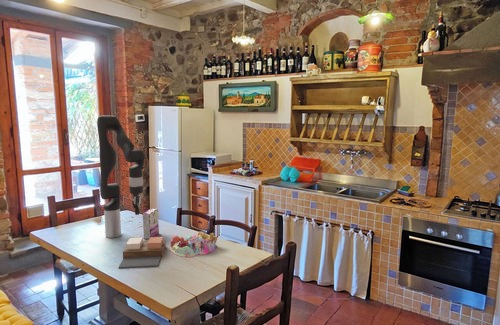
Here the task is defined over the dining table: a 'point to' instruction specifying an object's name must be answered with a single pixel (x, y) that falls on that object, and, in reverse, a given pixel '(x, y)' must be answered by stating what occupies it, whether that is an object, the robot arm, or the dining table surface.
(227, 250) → the dining table surface
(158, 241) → the terracotta tile
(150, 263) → the rubber mat
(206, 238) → the candy landscape model
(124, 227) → the dining table surface
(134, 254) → the walnut board
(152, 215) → the candy bar box
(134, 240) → the cream tile
